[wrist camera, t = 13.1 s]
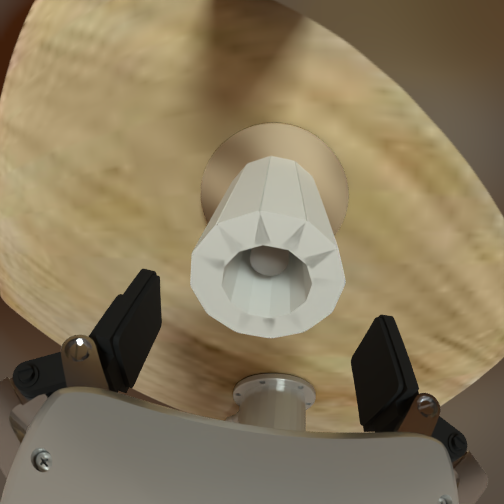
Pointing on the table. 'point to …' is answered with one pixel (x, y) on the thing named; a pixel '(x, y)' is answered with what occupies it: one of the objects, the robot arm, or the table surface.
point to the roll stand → (283, 146)
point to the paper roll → (274, 235)
